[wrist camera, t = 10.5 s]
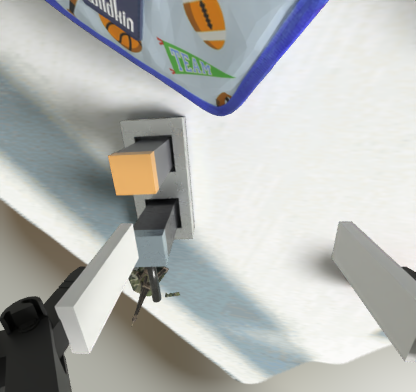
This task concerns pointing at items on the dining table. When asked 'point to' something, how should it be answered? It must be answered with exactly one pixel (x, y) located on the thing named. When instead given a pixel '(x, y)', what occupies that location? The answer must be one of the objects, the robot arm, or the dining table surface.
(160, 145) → the plug
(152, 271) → the pdu strip
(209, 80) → the lunch bag
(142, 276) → the eiffel tower figurine
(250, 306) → the dining table surface
